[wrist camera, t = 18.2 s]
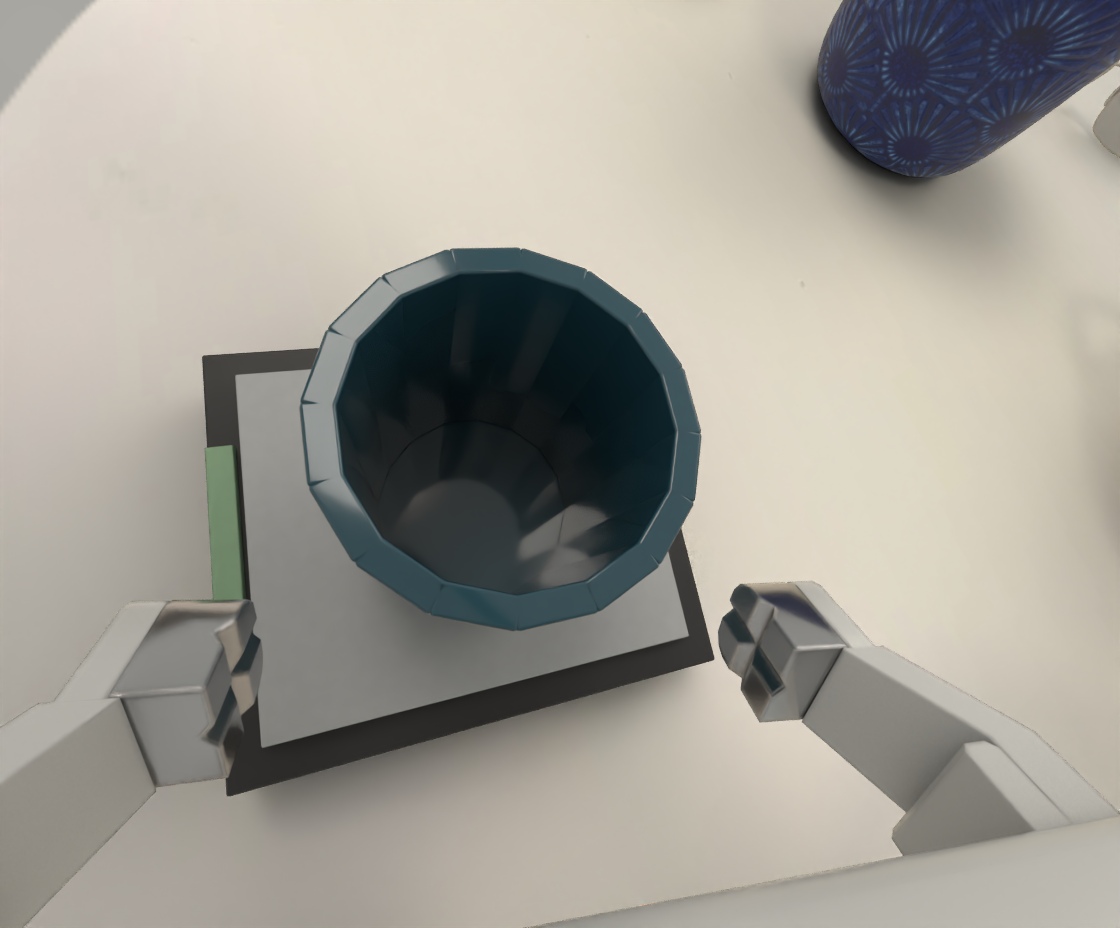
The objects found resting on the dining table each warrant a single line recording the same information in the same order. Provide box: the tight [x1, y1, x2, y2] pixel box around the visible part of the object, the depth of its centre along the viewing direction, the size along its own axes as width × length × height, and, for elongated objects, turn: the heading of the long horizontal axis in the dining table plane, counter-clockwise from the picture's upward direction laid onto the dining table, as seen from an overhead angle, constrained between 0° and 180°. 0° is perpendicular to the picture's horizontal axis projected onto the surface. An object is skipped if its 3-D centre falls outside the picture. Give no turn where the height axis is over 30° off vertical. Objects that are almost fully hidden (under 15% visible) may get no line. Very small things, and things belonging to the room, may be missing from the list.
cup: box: [299, 248, 701, 632], centre depth 12 cm, size 6×6×8 cm
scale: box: [202, 348, 714, 796], centre depth 17 cm, size 14×12×3 cm
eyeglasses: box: [1085, 61, 1120, 158], centre depth 36 cm, size 14×8×4 cm, turn 58°
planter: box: [818, 0, 1120, 177], centre depth 26 cm, size 12×12×11 cm
